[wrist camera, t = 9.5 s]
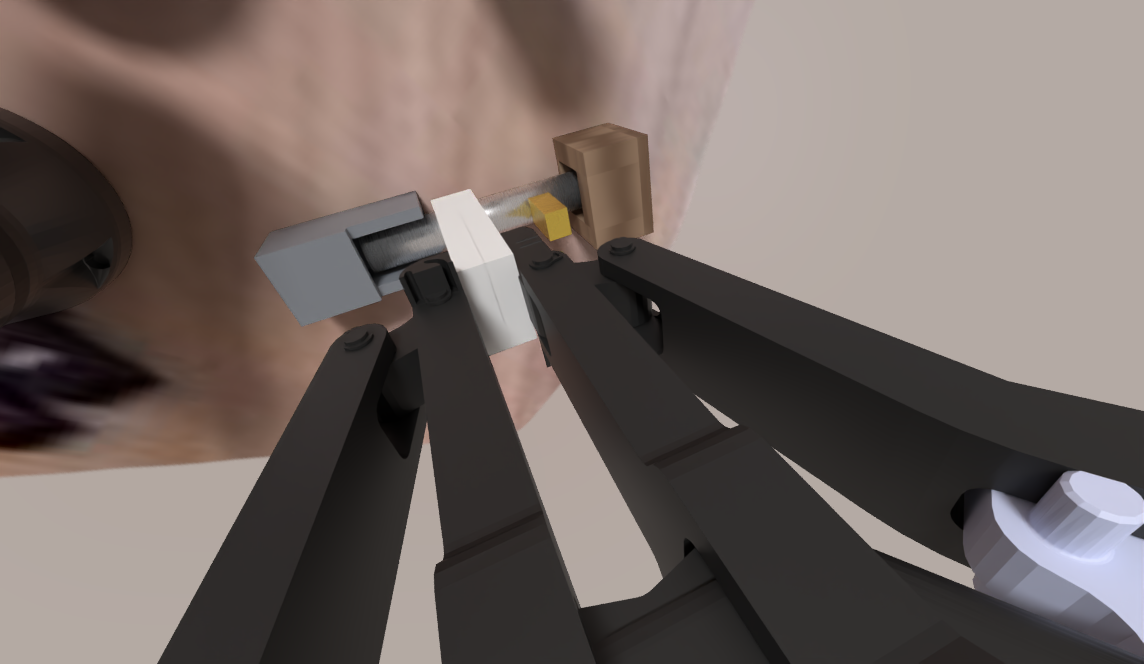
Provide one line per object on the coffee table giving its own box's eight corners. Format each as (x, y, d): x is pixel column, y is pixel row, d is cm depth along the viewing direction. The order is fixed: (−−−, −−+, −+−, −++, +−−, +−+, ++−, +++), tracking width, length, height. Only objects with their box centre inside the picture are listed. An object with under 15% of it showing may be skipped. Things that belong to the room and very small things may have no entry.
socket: (568, 224, 47) (598, 251, 40) (552, 138, 41) (583, 153, 35) (617, 208, 48) (653, 232, 42) (608, 122, 42) (647, 134, 36)
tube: (377, 264, 41) (377, 307, 34) (358, 225, 38) (353, 263, 31) (587, 199, 45) (624, 225, 38) (581, 160, 42) (620, 181, 36)
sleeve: (310, 295, 41) (301, 326, 36) (270, 231, 37) (253, 257, 32) (440, 254, 43) (447, 278, 39) (415, 190, 39) (419, 209, 35)
